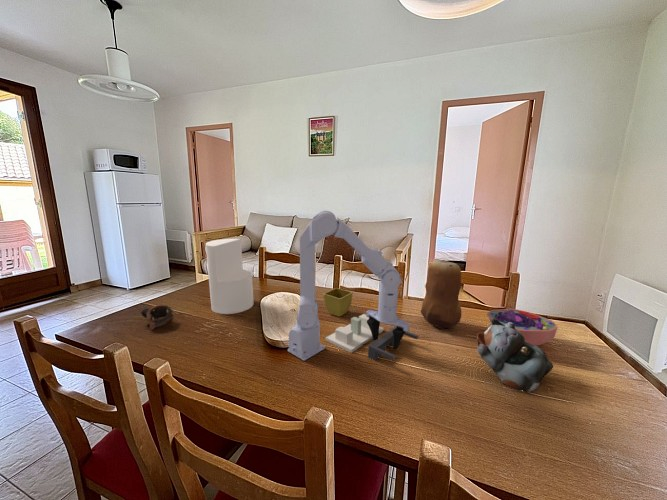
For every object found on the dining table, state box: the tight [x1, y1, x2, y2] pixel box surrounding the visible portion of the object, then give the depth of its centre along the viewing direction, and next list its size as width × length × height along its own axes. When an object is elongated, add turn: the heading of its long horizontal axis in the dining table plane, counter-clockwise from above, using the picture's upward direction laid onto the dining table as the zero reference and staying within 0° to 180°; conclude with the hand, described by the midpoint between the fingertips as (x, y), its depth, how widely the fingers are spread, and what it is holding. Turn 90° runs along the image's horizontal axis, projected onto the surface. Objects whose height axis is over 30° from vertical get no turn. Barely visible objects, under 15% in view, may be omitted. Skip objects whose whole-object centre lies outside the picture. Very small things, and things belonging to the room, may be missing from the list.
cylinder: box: [205, 238, 255, 315], centre depth 118 cm, size 17×17×28 cm
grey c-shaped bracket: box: [367, 326, 419, 361], centre depth 87 cm, size 16×8×4 cm, turn 138°
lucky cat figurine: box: [476, 319, 554, 393], centre depth 77 cm, size 17×14×16 cm
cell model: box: [486, 308, 559, 347], centre depth 93 cm, size 17×20×11 cm
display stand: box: [325, 313, 385, 354], centre depth 97 cm, size 19×11×6 cm, turn 138°
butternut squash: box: [420, 259, 462, 329], centre depth 102 cm, size 14×13×25 cm
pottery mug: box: [140, 304, 175, 330], centre depth 104 cm, size 12×10×8 cm
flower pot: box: [323, 287, 354, 317], centre depth 113 cm, size 9×9×9 cm
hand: (385, 343), depth 89 cm, fingers open, 7 cm apart
